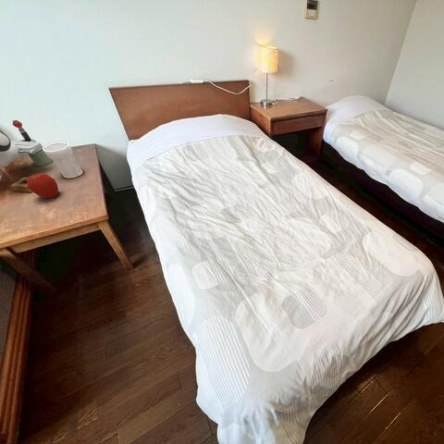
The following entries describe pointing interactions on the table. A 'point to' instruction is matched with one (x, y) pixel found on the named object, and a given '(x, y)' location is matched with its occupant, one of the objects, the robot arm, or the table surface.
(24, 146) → the robot arm
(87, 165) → the table surface
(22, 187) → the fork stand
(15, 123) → the strawberry fork
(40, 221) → the table surface
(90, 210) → the table surface
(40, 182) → the red ovoid fruit
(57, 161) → the cup
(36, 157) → the dessert cup
